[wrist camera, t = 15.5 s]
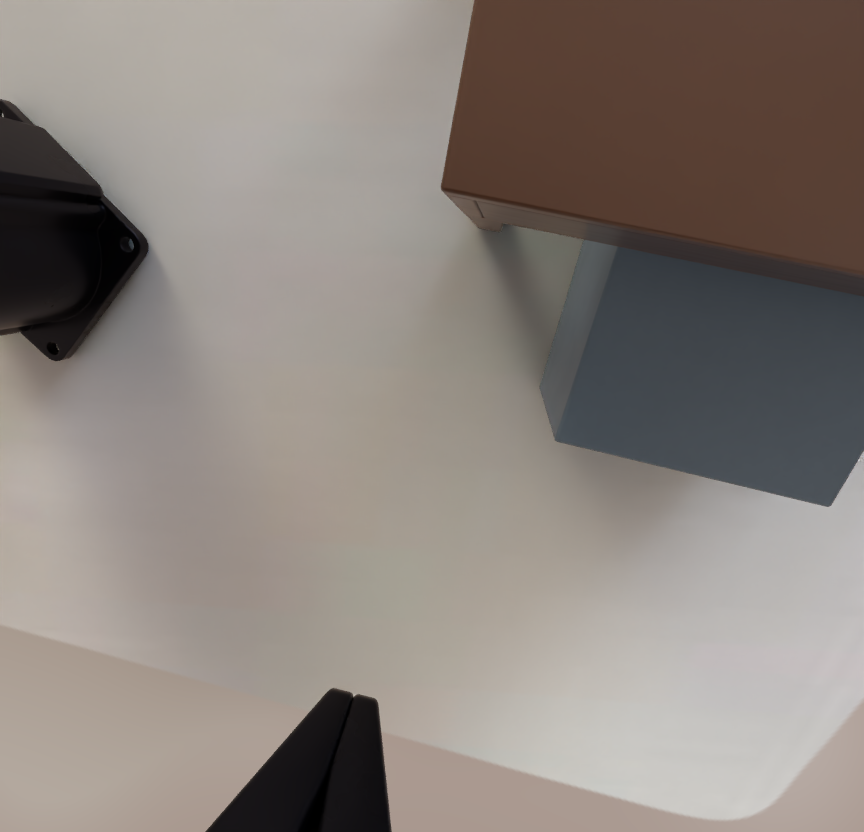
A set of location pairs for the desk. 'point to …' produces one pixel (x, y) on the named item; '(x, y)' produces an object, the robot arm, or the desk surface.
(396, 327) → the desk surface
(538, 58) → the drawer unit
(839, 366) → the storage box
